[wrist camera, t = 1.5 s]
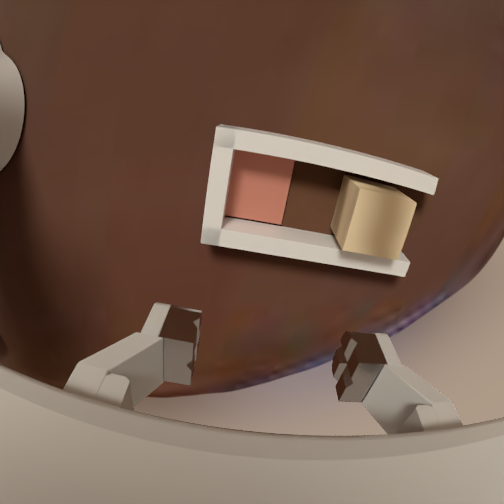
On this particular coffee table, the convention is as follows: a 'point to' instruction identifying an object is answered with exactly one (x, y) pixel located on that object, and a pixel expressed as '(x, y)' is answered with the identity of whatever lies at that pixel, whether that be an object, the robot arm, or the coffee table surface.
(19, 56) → the coffee table surface
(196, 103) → the coffee table surface
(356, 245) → the block
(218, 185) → the channel
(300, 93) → the coffee table surface
